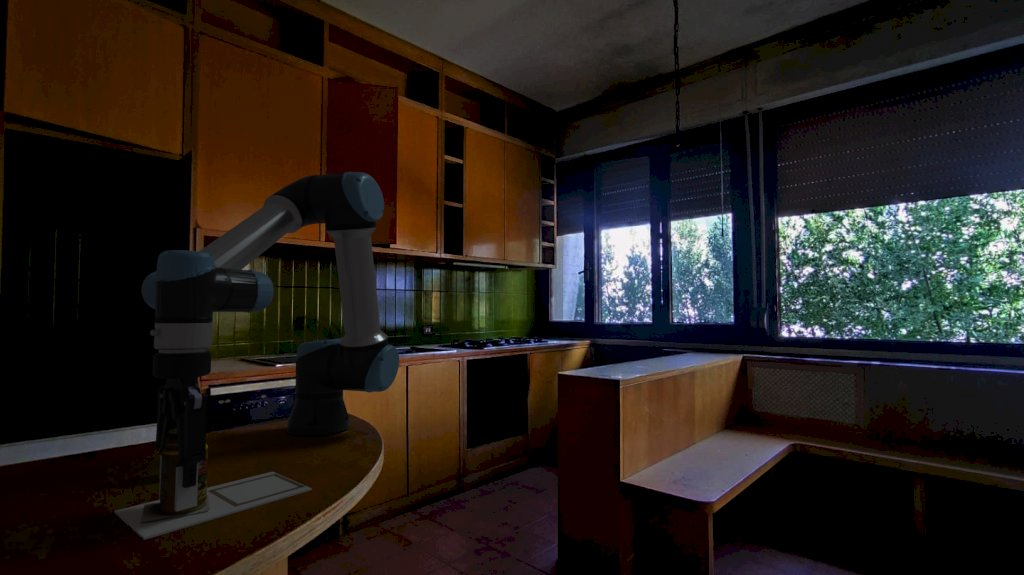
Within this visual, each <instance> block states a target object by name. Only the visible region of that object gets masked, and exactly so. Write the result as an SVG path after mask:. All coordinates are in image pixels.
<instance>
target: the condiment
mask: <svg viewBox="0 0 1024 575" xmlns="http://www.w3.org/2000/svg"><path fill="white" fill-rule="evenodd" d="M165 437H166V441H165V446H166V447H165V448H164V450H163V452H162V461H161V485H160V484H159V486H160V499H159V500H160V503H151V504H146V505H144V509H143V514H142V518H141V522H140V523H143V522H147V521H154V520H157V519H164V518H170V517H178V516H183V515H189V514H195V513H198V512H204V511H208V510H210V507H209V498H208V495H207V488H208V464H209V446H208V444H207V443H206V459H205V460H204V461H200V462H199V464H198V493H197V506H195V507H191V508H187V509H184V510H180V511H175V483H176V468H175V467H174V465H173V464H175V463H178V462H179V452H178V439H177V428H176V429H172V430H170V431H168V432H167V433H166V436H165Z"/></svg>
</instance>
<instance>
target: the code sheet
mask: <svg viewBox="0 0 1024 575" xmlns="http://www.w3.org/2000/svg"><path fill="white" fill-rule="evenodd" d="M312 490H313V488H311V487H310V486H307V485H305V484H302V483H300V482H298V481H295V480H293V479H291V478H289V477H287V476H284V475H282V474H279V473H277V472H275V471H270V472H269V471H268V472H265V473H262V474H258V475H252V476H249V477H246V478H245V477H244V478H241V479H238V480H237V479H236V480H234V481H229V482H225V483H221V484H217V485H214V486H209V487H208V486H207V495H208V498H209V507H210V510H208V511H204V512H198V513H195V514H189V515H183V516H178V517H170V518H164V519H157V520H154V521H147V522H143V523H140V522H141V518H142V514H143V509H144V505H146V504H151V503H160V499H157V500H152V501H149V502H144V503H141V504H137V505H133V506H129V507H126V508H125V507H124V508H121V509H116V510H114V514H115V515H116V516H117V517H118V518H119V519H120V520H121V521H123V522H124V524H126V525H127V526H128V525H129V526H130V527H131V528H132V531H134V533H136V534H137V535H138V536H139V537H140V538H141V537H142V538H143V539H142V538H141V539H142V540H144V541H145V540H148V539H152V538H155V537H159V536H161V535H165V534H168V533H172V532H176V531H180V530H183V529H186V528H189V527H192V526H196V525H199V524H203V523H206V522H209V521H212V520H215V519H216V520H217V519H218V518H222V517H223V518H224V517H226V516H229V515H233V514H236V513H239V512H242V511H245V510H249V509H252V508H255V507H260V506H262V505H267V504H270V503H272V502H276V501H280V500H283V499H286V498H290V497H292V496H297V495H300V494H302V493H303V494H304V493H307V492H310V491H312ZM129 526H128V527H129ZM130 527H129V528H130ZM131 528H130V529H131Z"/></svg>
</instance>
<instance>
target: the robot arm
mask: <svg viewBox="0 0 1024 575" xmlns="http://www.w3.org/2000/svg"><path fill="white" fill-rule="evenodd" d="M384 210H385V201H384V195H383V192H382V190H381V187H380V186H379V184H378V183H377V181H376V180H375V178H374V177H373V176H371V175H370V174H368V173H366V172H362V171H361V172H360V171H345V172H335V173H328V174H313V175H307V176H304V177H301V178H299V179H297V180H295V181H293V182H290V183H289V184H287V185H285V186H283V187H282V188H280V189H279V190H277V191H275V192H274V193H273V194H271V195H270V196H268V197H267V198H265V200H264V202H263V205H262V207H261V208H259V209H257V211H255V212H254V213H252V214H251V215H249V216H248V217H247V218H245V219H244V220H242V221H240V222H239V223H237V224H235V226H234V227H232V228H231V229H229V230H227V231H226V232H225V233H223V234H222V235H220V236H219V237H217V238H216V239H215V240H213V241H212V242H210V243H209V244H207V245H206V246H205V247H203V248H202V249H200V250H199V251H198V250H185V249H183V250H181V249H177V250H176V249H174V250H172V249H169V250H164V251H162V252H161V253H160V254H159V255H158V258H157V263H156V271H153V272H152V273H151V272H150V274H148V275H146V277H145V278H144V280H143V282H142V285H141V295H142V299H143V300H144V302H145V303H146V304H147V306H148V307H150V308H152V309H153V310H154V329H151V330H150V332H149V333H150V336H152V337H154V338H153V348H154V349H155V350H158V352H155V353H154V355H152V377H154V378H157V379H164V380H166V381H165V384H164V386H163V385H161V386H157V389H156V392H157V414H156V416H157V418H156V432H155V449H156V450H158V453H159V456H160V455H162V452H163V450H164V448H165V447H166V446H165V441H166V437H165V436H166V433H167V432H168V431H170V430H172V429H176V428H177V439H178V452H179V462H178V463H175V464H173V465H174V467H175V468H176V483H175V511H180V510H184V509H187V508H191V507H195V506H197V493H198V464H199V462H200V461H204V460H205V459H206V444H207V443H206V442H207V405H208V396H209V395H208V393H206V392H204V393H201V387H200V385H199V378H200V377H204V376H208V375H209V374H210V373H211V371H212V352H211V351H210V350H208V349H210V348H211V347H212V346H213V331H214V330H213V329H214V328H213V326H214V322H213V320H214V319H213V316H214V313H248V314H249V313H253V312H261V311H264V310H265V309H267V307H268V306H270V305H271V303H272V300H273V298H274V292H275V291H274V285H273V281H272V280H271V278H270V277H269V276H268V275H267V274H266V273H264V272H262V271H255V270H253V269H244V268H246V267H247V266H248V265H249V264H250V263H253V261H254V260H255V259H257V258H258V257H259V256H260V255H261V254H264V252H266V251H267V250H268V249H269V248H270V247H272V246H273V245H274V244H275V243H277V242H278V241H279V240H280V239H282V238H283V237H284V236H285V235H286V234H293V233H296V232H297V231H299V230H300V229H302V228H303V227H306V226H310V225H311V226H312V225H316V224H317V225H319V224H323V225H325V232H326V233H327V234H328V235H329V236H331V237H332V238H333V244H334V251H335V252H334V253H335V259H336V260H335V261H336V268H337V276H338V285H339V293H340V294H339V295H340V301H341V302H340V303H341V311H342V319H343V329H344V336H342V338H332V339H324V340H314V341H306V342H302V343H300V344H299V345H298V346H297V348H296V357H295V390H294V391H295V392H294V393H295V395H294V396H295V398H294V402H293V406H292V409H291V411H290V414H289V416H288V420H287V423H286V433H287V434H288V433H289V435H291V436H296V437H297V436H298V437H318V435H322V436H328V435H327V434H329V435H333V434H332V433H335V434H337V433H336V432H339V433H341V432H340V431H343V430H345V429H347V428H348V427H349V428H350V415H349V414H348V413H349V412H348V409H347V407H346V404H345V400H344V391H350V392H351V391H353V392H363V393H364V392H366V393H372V392H373V393H374V392H375V393H376V392H377V393H380V392H384V391H386V390H388V389H389V388H390V387H391V386H392V385H393V383H394V382H395V379H396V377H397V375H398V371H399V368H400V367H399V366H400V354H399V351H398V350H397V347H396V346H394V345H392V344H389V339H388V335H387V333H385V332H384V331H382V330H381V321H380V312H379V303H378V302H379V301H378V292H377V283H376V282H377V281H376V273H375V271H376V270H375V265H374V264H375V263H374V253H373V252H374V251H373V245H372V234H373V233H374V232H375V231H376V229H377V222H378V221H379V220H381V219H382V217H383V216H384ZM347 430H348V429H347ZM345 431H346V430H345ZM343 432H344V431H343ZM161 461H162V457H161V459H160V458H159V468H160V477H159V488H158V489H159V490H158V492H159V493H158V500H160V485H161Z"/></svg>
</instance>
